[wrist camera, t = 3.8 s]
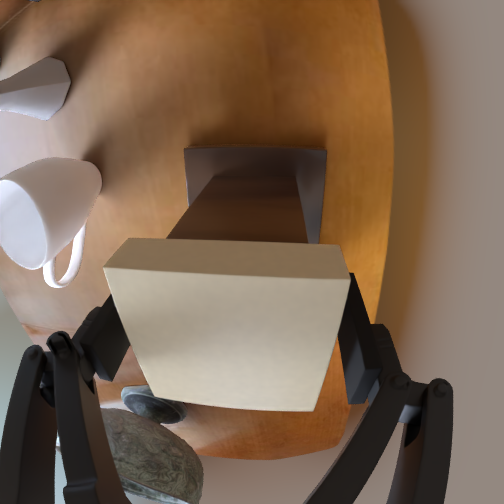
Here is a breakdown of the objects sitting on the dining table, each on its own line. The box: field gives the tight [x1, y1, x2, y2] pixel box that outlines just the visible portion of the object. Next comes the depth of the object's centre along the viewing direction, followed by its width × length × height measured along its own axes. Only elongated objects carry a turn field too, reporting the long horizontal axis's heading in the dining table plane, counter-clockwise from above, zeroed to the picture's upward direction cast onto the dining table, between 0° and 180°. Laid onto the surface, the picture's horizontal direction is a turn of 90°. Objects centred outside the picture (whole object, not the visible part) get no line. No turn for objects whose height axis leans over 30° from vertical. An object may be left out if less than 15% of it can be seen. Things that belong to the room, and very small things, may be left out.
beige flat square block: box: [103, 238, 351, 411], centre depth 13 cm, size 9×9×2 cm
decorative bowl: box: [56, 385, 204, 504], centre depth 40 cm, size 26×26×20 cm
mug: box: [0, 157, 102, 288], centre depth 22 cm, size 12×8×11 cm
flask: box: [0, 57, 71, 121], centre depth 17 cm, size 7×7×10 cm
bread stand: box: [166, 144, 327, 244], centre depth 20 cm, size 12×12×15 cm
